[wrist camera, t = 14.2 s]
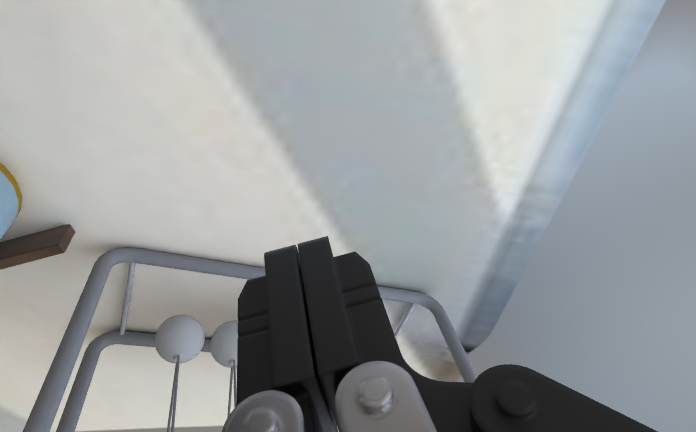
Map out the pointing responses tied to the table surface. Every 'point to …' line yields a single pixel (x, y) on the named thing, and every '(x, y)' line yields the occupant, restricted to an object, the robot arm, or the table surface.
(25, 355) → the table surface
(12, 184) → the bottle
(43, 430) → the newton's cradle
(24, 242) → the bay
